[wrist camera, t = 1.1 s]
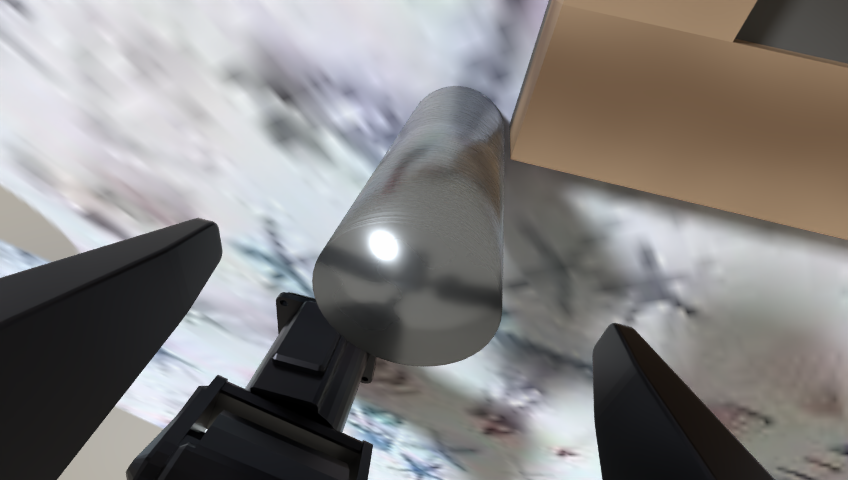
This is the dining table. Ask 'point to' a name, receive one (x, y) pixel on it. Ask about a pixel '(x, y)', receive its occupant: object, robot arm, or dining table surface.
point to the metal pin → (424, 239)
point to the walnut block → (696, 103)
